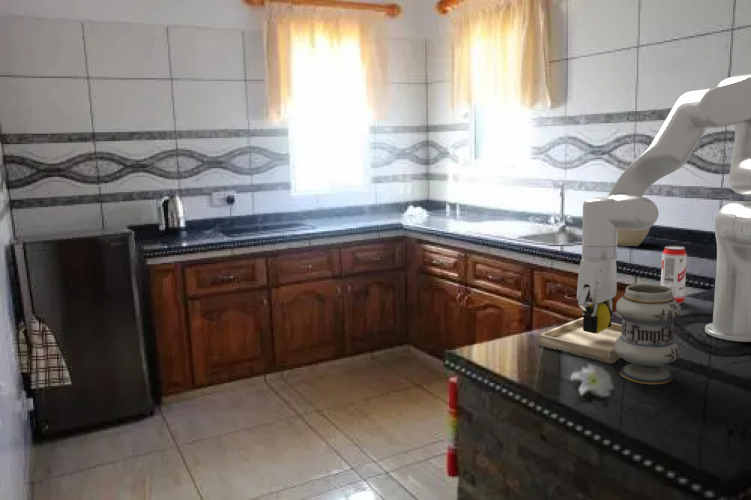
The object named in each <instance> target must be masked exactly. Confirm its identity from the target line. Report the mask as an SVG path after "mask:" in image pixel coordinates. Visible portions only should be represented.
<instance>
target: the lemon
mask: <svg viewBox="0 0 751 500" xmlns="http://www.w3.org/2000/svg"><path fill="white" fill-rule="evenodd" d="M588 306H590V307H591V309H592V307H593V305H590V304H589V305H588ZM596 316H597V333H596V334H598V333H599V332H600V331H603V330H605V329H606V328H607V327H608V325H609V322H610V312H609V309H608V307H607V306H606V305H605V304H604V303H602V302H601V303H598V306H597V311H596Z"/></svg>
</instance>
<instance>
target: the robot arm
mask: <svg viewBox="0 0 751 500" xmlns="http://www.w3.org/2000/svg"><path fill="white" fill-rule="evenodd" d="M729 126H733V129H734V143H733V144H734V145H733V149H732V150H733V151H732V155H731V162H730V166H729V177H728V184H729V187H730V189H731V190H732V191H733V192H734V193H737V194H739V195H743V196H747V197H751V72H750V73H743V74H737V75H733V76H730V77H727V78H725V79H723V80H722V81H720V82H719V84H717V86H716V87H709V88H708V87H707V88H701V89H695V90H690V91H687V92H685V93H683V94H682V95H681V96H679V97H678V99H677V100H676V102H675V103H674V105H673V106H672V108H671V110H670V111H669V113H668V114H667V117H665V120H664V121H663V123H662V125H661V126H660V128H659V130H658V132H657V133H656V134H655V136H654V138H653V139H652V141H651V143H650V145H649V146H648V147H647V149H646V150H645V151H644V152H642V153H641V154H640V155H639V156H638V157H637V158H636V159H635V160H634V161H633V162H632V163H631V164H630V165H629V166H627V168H626V169H625V170H624V171H623V172H622V173H621V174H620V175H619V177H618V178H617V179H616V182H615V183H614V184H613V186H612V188H611V190H610V191H609V193H608V195H607V197H603V196H601V197H589V198H586V199H585V200H584V202H583V204H582V228H581V229H582V232H581V233H582V236H581V237H582V238H581V239H582V240H581V241H582V243H581V260H580V263H579V270H578V277H577V289H576V300H577V305H578V307H579V308H580V309H581V315H583V316H582V317H583V330H584V331H586V332H590V333H597V316H596V311H597V306H598V303H601V302H602V303H604V304H605V305H606V306H607V307H608V309H609V312H610V322H609V325H608V327H611V323H612V313H613V312H612V310H614V309H613V308H614V307H613V306H614V305H613V303H614V301H615V298H616V295H617V292H618V291H617V290H618V289H617V286H618V284H617V283H618V280H617V279H618V273H617V262H616V261H617V257H618V244H617V237H618V229H628V230H644V229H647V228H649V227H650V228H651V227H653V226H654V225H655V223H656V222H657V221H658V219H659V208H658V206H657V205H656V203H655V202H654V201H653V200H651V199H650V198H648V197H644V196H643V195H644V194H645V193H646V192H647V190H649V188H650V187H651V186H652V185H653V184H655V183H656V182H657V181H659V180H660V179H662V178H664V177H666V176H668V175H670V174H673V173H674V172H676V171H677V170H679V169H682V168H683V167H684V166H685V165H686V163H687V162H688V160H689V159H690V158H691V156H692V154H693V152H694V150H695V149H696V147H697V145H698V143H699V142H700V140H701V139H702V137H703V135H704V134H705V133H706V130H707V129H718V128H721V129H722V128H725V127H729ZM714 233H715V235H714V236H715V241H716V268H715V269H716V270H715V278H714V279H715V283H714V295H713V296H714V298H713V313H712V322H711V323H710V322H709V323H708V324H706V325H705V326H704V332H705V333H706V334H708V335H709V336H711V337H713V338H717V339H720V340H725V341H732V342H738V343H739V342H741V343H751V201H742V200H741V201H740V200H739V201H732V202H730V203H726V204H725V205H723V206H722V207H721V208H720V209H719V210H718V212H717V213H716V215H715V218H714ZM590 300H592V301H590ZM589 304H590V305H593V307H592V309H591V307H590V306H588V305H589Z"/></svg>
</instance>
